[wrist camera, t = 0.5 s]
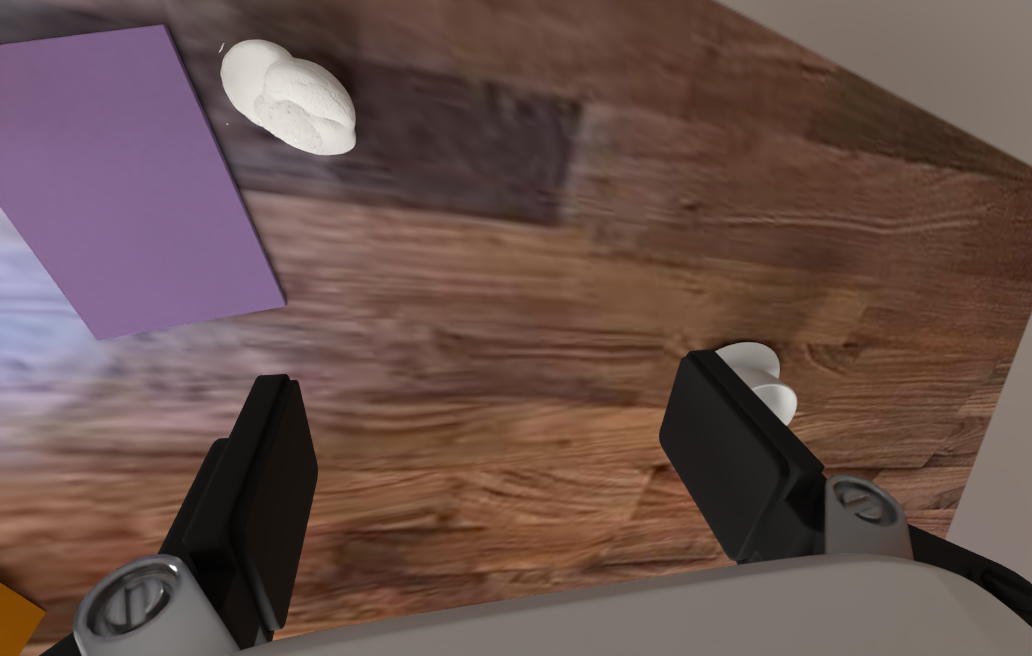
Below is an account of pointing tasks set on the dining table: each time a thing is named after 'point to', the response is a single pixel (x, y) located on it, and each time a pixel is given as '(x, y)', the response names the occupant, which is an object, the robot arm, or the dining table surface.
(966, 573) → the robot arm
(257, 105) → the dumpling
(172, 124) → the cloth
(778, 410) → the teacup
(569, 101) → the dining table surface
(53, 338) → the dining table surface
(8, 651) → the orange juice
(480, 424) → the dining table surface
